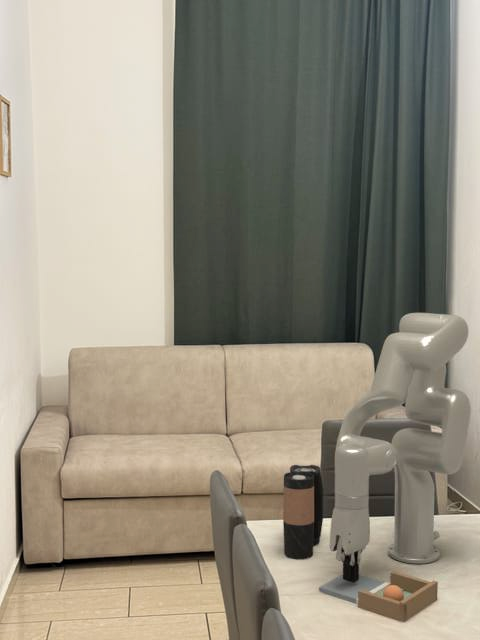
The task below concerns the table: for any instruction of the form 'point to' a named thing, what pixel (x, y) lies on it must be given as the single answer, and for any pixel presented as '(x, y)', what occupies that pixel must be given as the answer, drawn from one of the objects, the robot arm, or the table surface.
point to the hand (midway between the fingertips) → (350, 580)
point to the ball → (393, 593)
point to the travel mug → (298, 515)
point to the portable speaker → (317, 497)
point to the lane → (372, 599)
